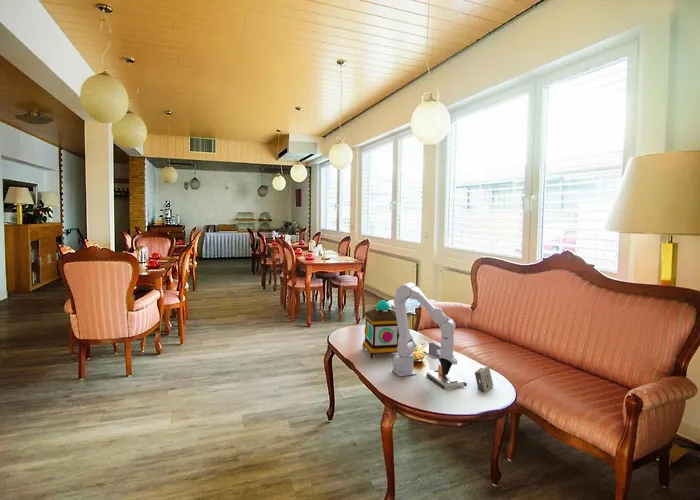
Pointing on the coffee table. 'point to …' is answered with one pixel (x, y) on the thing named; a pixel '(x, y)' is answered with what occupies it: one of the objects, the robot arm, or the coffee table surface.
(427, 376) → the cord left
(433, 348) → the notebook
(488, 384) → the electrical switch
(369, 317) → the decorative lantern
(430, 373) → the breaker panel
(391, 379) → the coffee table surface
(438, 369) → the block
